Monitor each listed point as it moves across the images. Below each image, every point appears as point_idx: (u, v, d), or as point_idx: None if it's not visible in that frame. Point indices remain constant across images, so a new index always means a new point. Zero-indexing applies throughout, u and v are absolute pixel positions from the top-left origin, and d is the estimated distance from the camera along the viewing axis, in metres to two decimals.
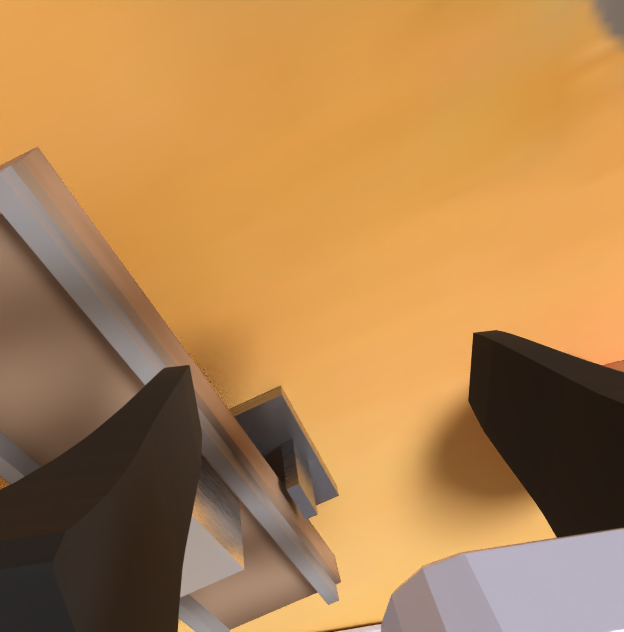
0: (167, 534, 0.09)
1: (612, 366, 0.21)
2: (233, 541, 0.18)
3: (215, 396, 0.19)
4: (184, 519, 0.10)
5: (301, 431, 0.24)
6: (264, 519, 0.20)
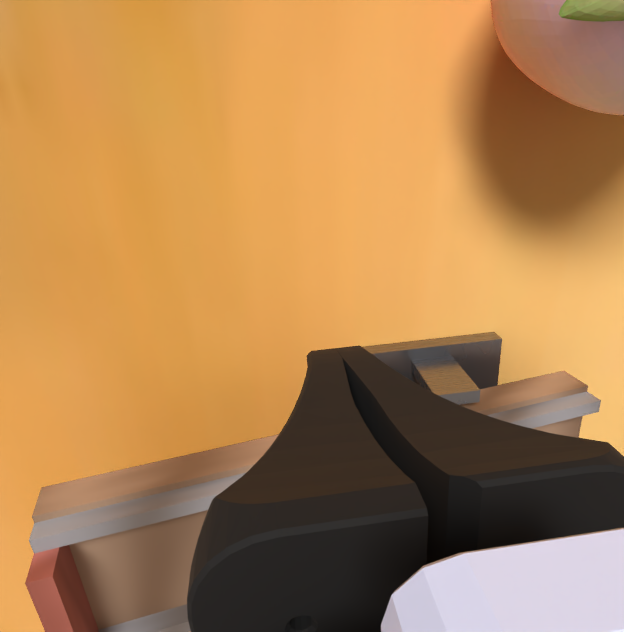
0: None
1: None
2: None
3: None
4: None
5: (408, 350, 0.23)
6: None
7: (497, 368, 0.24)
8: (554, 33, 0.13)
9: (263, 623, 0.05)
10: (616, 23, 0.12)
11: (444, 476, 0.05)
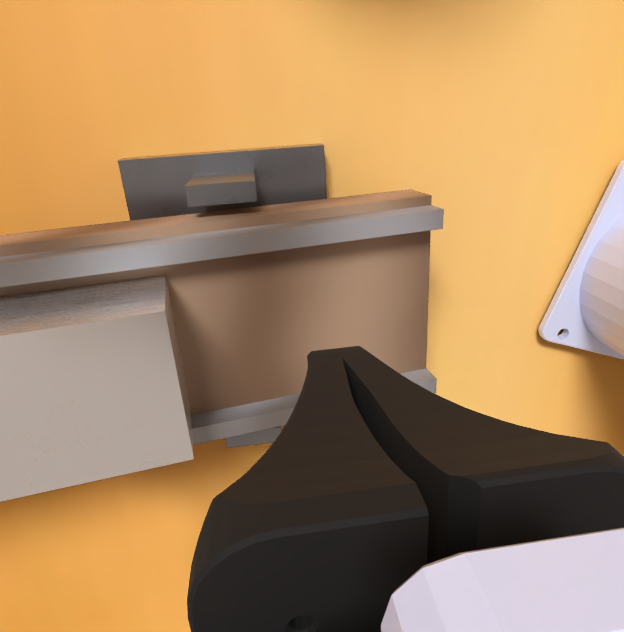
0: None
1: None
2: (132, 305, 0.12)
3: None
4: None
5: (188, 156, 0.17)
6: (184, 254, 0.13)
7: (324, 192, 0.18)
8: None
9: (262, 622, 0.05)
10: None
11: (443, 476, 0.05)
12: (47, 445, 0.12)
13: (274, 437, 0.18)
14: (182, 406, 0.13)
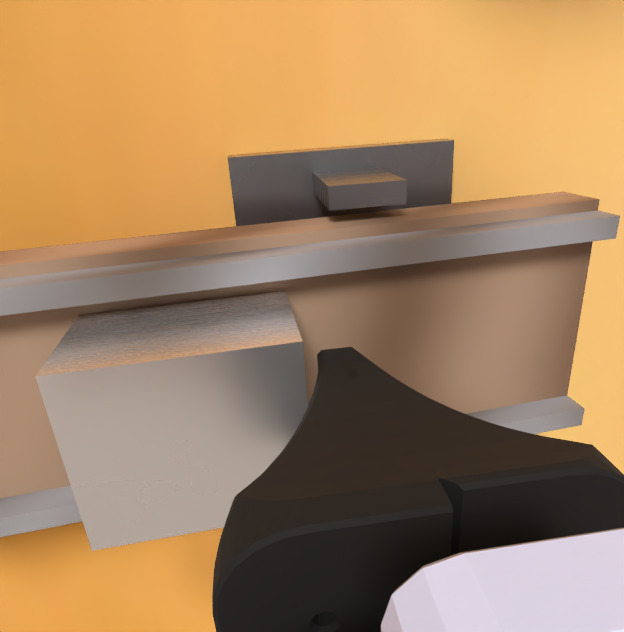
0: None
1: None
2: (260, 331, 0.10)
3: (107, 242, 0.12)
4: None
5: (305, 153, 0.15)
6: (329, 264, 0.12)
7: (449, 193, 0.16)
8: None
9: (286, 619, 0.05)
10: None
11: None
12: (156, 490, 0.10)
13: None
14: None
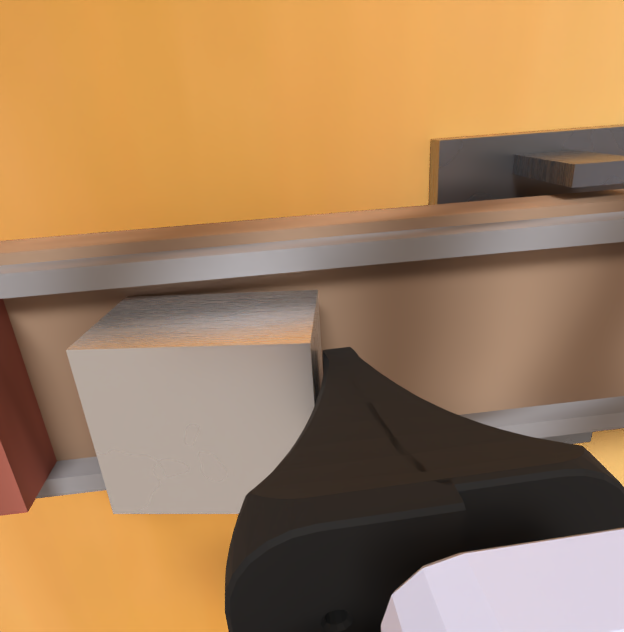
0: None
1: None
2: (275, 329, 0.10)
3: (357, 213, 0.14)
4: None
5: (511, 136, 0.16)
6: (575, 236, 0.13)
7: None
8: None
9: (298, 616, 0.05)
10: None
11: None
12: (169, 468, 0.11)
13: (583, 438, 0.17)
14: None
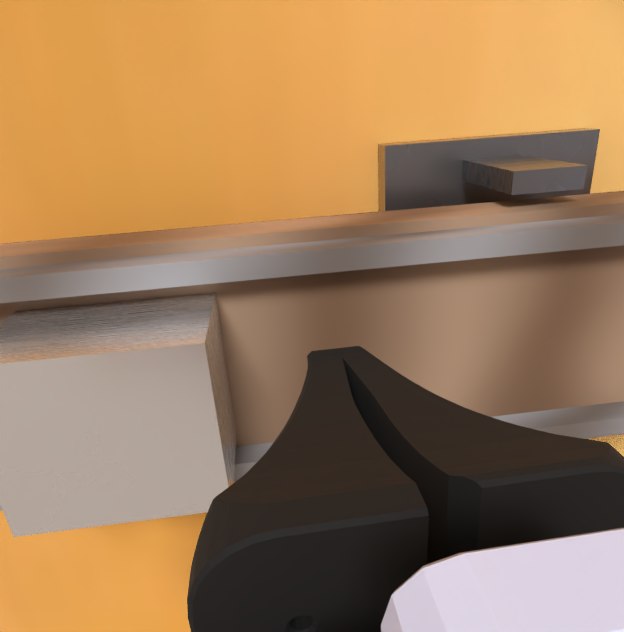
0: None
1: None
2: (170, 332, 0.10)
3: (293, 221, 0.13)
4: None
5: (458, 141, 0.15)
6: (512, 246, 0.12)
7: (589, 181, 0.16)
8: None
9: (263, 623, 0.05)
10: None
11: (444, 476, 0.05)
12: (71, 481, 0.11)
13: None
14: (221, 450, 0.11)
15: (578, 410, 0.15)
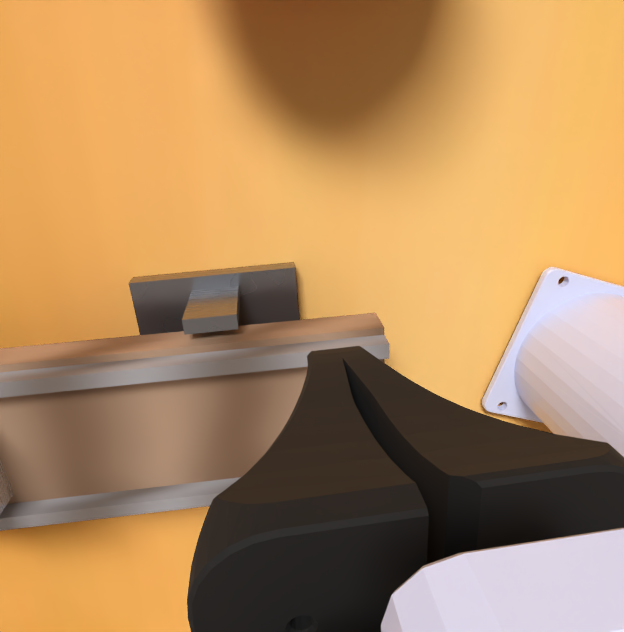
0: None
1: None
2: None
3: (42, 347, 0.19)
4: None
5: (185, 278, 0.21)
6: (174, 373, 0.18)
7: (296, 302, 0.22)
8: None
9: (263, 622, 0.05)
10: None
11: (443, 476, 0.05)
12: None
13: None
14: None
15: None
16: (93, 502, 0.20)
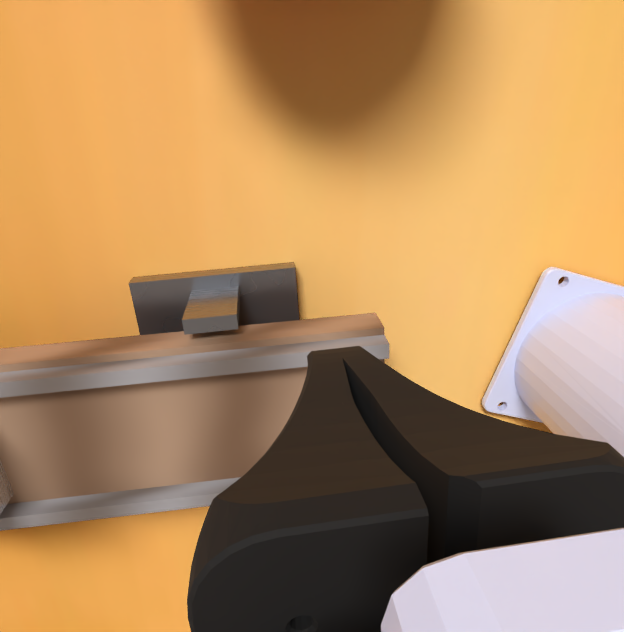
0: None
1: None
2: None
3: (42, 347, 0.19)
4: None
5: (185, 278, 0.21)
6: (174, 373, 0.18)
7: (296, 302, 0.22)
8: None
9: (263, 622, 0.05)
10: None
11: (443, 476, 0.05)
12: None
13: None
14: None
15: None
16: (93, 502, 0.20)
